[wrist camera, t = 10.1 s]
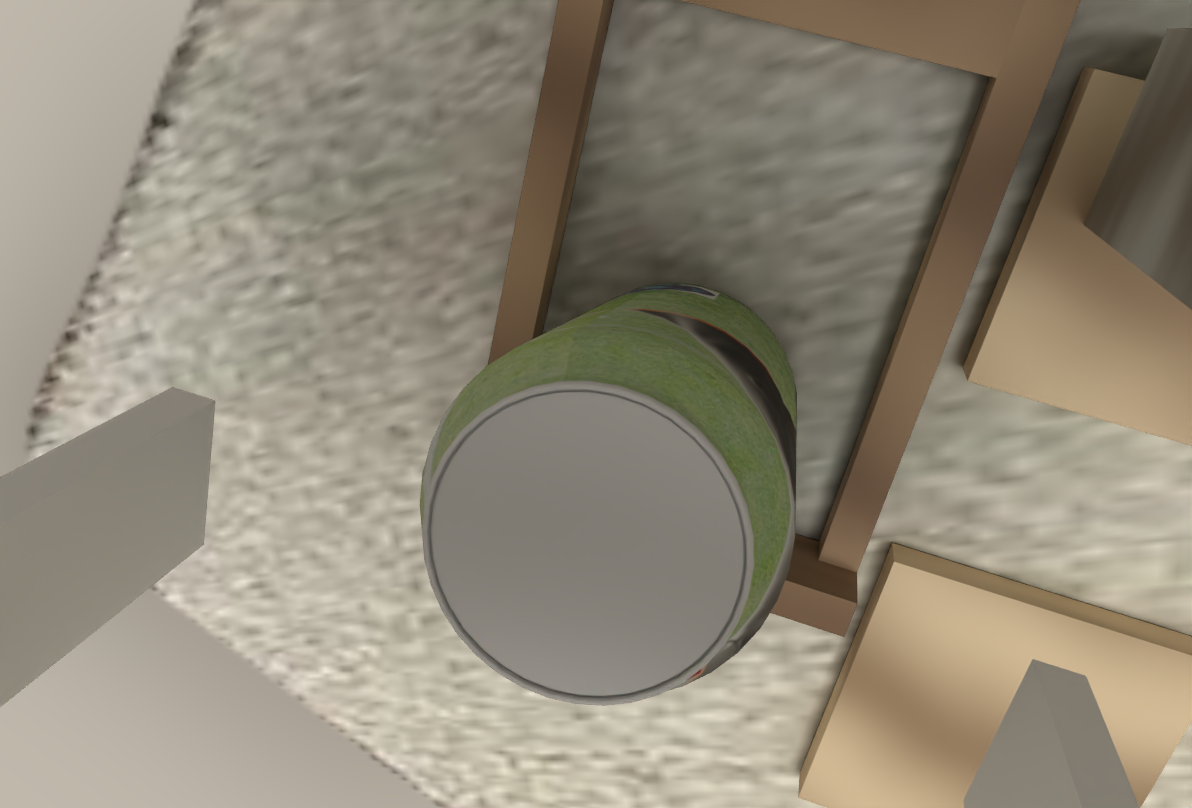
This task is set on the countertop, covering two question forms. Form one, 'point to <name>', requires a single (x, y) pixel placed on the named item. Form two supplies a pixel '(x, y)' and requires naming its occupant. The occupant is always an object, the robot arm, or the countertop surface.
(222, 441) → the countertop surface
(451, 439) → the beverage can
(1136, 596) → the countertop surface
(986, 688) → the broken strip
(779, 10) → the wooden frame with block
